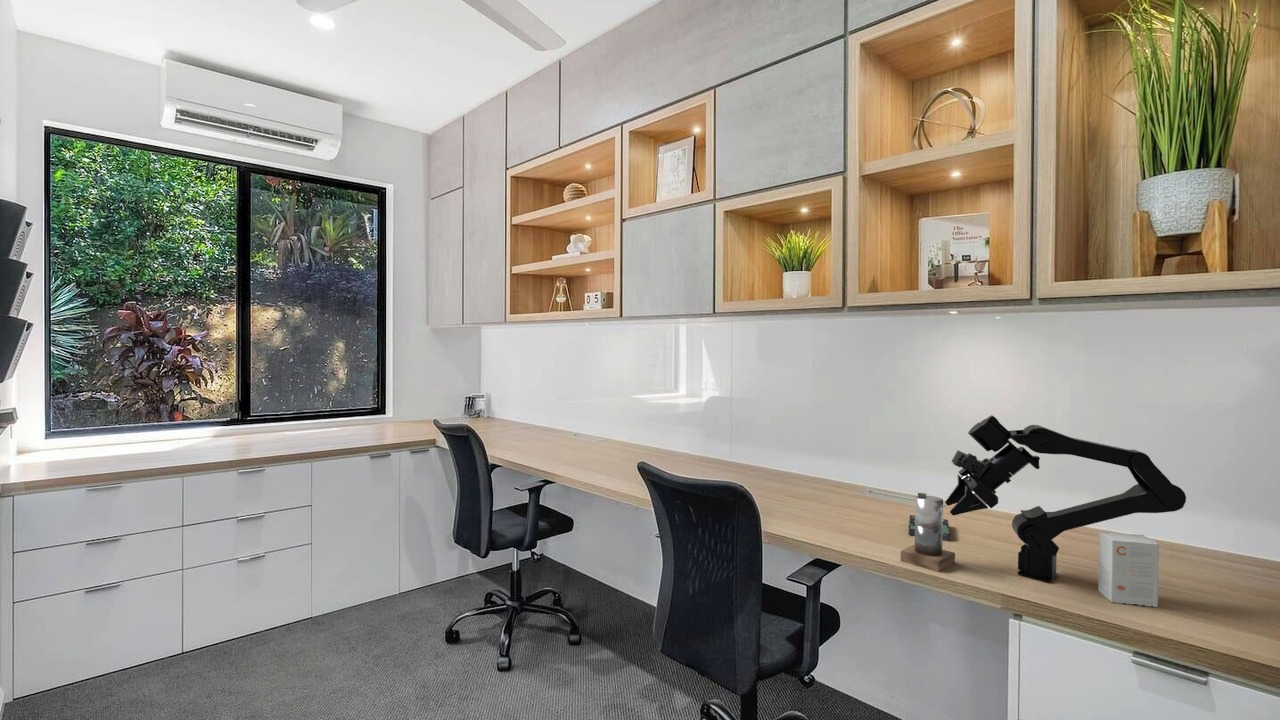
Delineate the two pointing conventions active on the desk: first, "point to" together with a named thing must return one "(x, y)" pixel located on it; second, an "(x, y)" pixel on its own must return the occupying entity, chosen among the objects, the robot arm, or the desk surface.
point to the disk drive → (945, 528)
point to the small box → (1128, 568)
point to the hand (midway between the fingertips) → (948, 508)
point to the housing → (928, 525)
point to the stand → (927, 559)
